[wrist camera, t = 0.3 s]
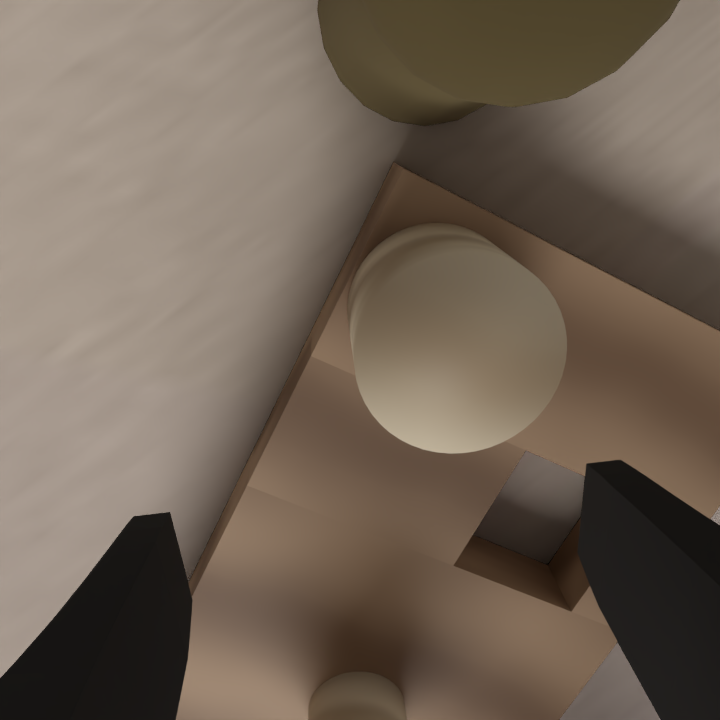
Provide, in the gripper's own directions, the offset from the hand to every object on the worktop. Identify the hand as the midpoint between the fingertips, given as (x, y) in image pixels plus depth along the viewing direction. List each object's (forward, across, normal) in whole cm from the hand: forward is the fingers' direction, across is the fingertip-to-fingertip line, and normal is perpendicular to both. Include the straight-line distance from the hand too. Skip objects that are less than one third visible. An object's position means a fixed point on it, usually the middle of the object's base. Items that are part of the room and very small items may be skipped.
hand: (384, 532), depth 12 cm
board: (+10, -3, +8) cm, 13 cm away
